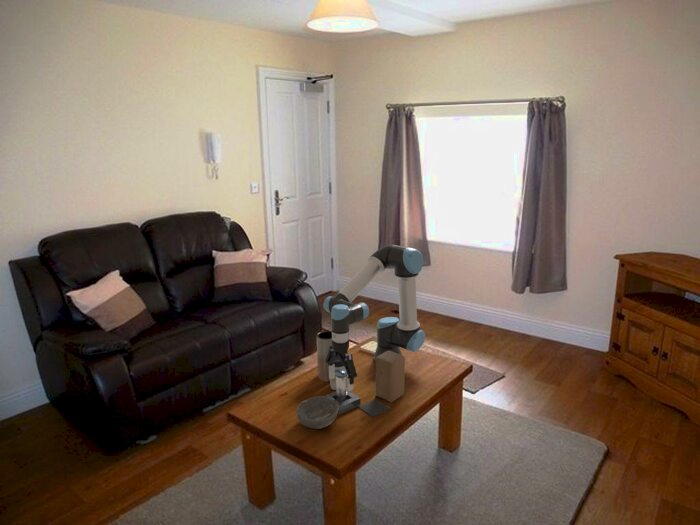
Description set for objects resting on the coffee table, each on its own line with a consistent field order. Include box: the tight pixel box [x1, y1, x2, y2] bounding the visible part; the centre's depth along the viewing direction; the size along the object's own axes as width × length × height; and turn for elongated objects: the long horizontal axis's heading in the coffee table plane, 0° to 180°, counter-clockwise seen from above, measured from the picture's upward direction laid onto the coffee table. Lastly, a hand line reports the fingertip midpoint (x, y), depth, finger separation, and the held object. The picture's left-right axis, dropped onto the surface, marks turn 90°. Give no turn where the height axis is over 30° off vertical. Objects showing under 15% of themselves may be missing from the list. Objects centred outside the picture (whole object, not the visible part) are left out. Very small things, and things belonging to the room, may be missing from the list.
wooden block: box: [375, 351, 406, 403], centre depth 227 cm, size 10×10×20 cm
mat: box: [358, 399, 391, 418], centre depth 219 cm, size 10×10×1 cm
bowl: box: [295, 395, 339, 430], centre depth 208 cm, size 18×18×8 cm
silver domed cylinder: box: [334, 368, 348, 403], centre depth 221 cm, size 6×6×16 cm
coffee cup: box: [328, 359, 346, 391], centre depth 237 cm, size 9×9×15 cm
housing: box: [323, 390, 362, 415], centre depth 223 cm, size 12×12×4 cm
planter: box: [316, 330, 334, 382], centre depth 245 cm, size 10×10×23 cm
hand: (341, 384), depth 220 cm, fingers open, 13 cm apart
